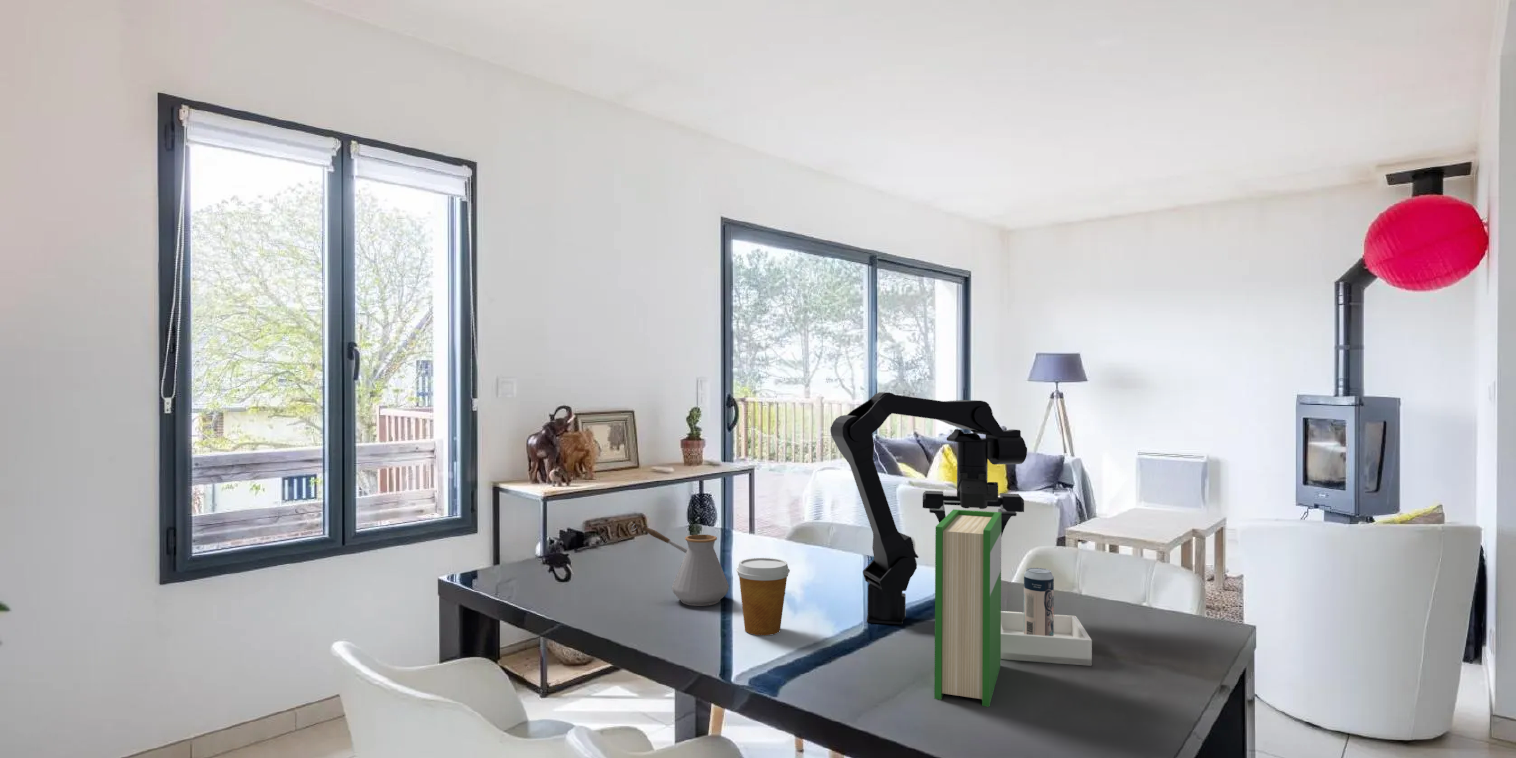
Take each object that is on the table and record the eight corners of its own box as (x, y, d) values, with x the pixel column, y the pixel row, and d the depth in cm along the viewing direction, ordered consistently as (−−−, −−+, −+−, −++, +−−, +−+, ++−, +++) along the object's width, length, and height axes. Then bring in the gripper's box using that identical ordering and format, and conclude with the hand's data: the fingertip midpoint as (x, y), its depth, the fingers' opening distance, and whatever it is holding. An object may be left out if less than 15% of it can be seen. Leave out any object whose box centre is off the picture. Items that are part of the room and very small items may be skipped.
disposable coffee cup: (800, 630, 144) (800, 562, 144) (764, 642, 137) (764, 571, 137) (761, 619, 150) (761, 554, 150) (724, 630, 143) (725, 562, 143)
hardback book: (989, 706, 110) (990, 530, 110) (934, 698, 113) (935, 526, 113) (1000, 665, 126) (1001, 512, 127) (952, 659, 129) (953, 509, 129)
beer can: (1055, 647, 132) (1056, 574, 132) (1025, 645, 133) (1025, 572, 133) (1051, 638, 137) (1051, 567, 137) (1021, 636, 138) (1022, 566, 138)
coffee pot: (737, 597, 166) (737, 524, 166) (715, 611, 155) (716, 533, 156) (645, 587, 174) (645, 517, 174) (618, 600, 163) (618, 526, 163)
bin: (998, 658, 129) (999, 633, 129) (992, 633, 143) (992, 610, 143) (1091, 665, 127) (1091, 640, 127) (1075, 638, 140) (1075, 615, 140)
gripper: (922, 467, 150) (922, 551, 150) (1027, 470, 146) (1027, 557, 146) (923, 462, 161) (922, 540, 161) (1020, 464, 157) (1020, 545, 157)
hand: (971, 545), depth 156 cm, fingers open, 9 cm apart
